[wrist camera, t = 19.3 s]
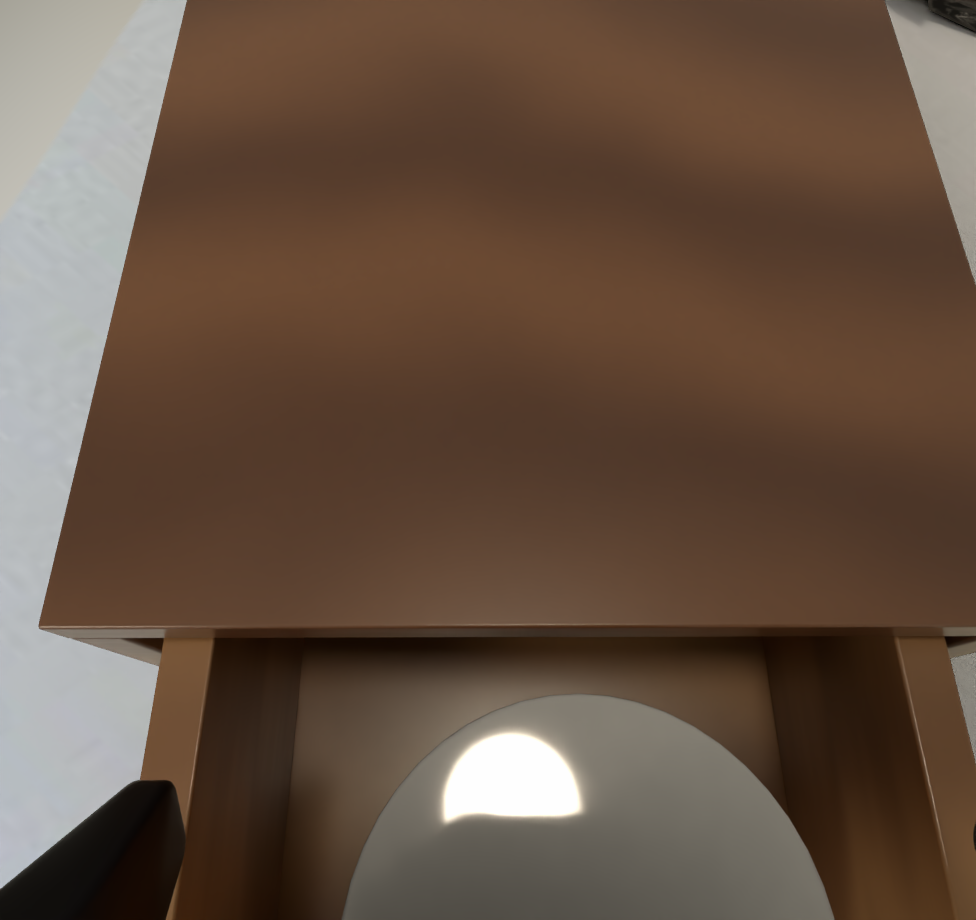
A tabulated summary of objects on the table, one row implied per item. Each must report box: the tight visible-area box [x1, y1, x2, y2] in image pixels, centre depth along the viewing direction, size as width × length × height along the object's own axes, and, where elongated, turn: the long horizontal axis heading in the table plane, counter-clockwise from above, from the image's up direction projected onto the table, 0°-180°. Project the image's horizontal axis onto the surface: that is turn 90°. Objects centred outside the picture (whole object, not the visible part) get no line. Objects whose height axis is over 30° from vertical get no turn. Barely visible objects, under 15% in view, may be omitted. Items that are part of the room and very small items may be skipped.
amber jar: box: [341, 693, 835, 920], centre depth 11 cm, size 5×5×8 cm
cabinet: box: [39, 0, 976, 666], centre depth 17 cm, size 16×15×9 cm
